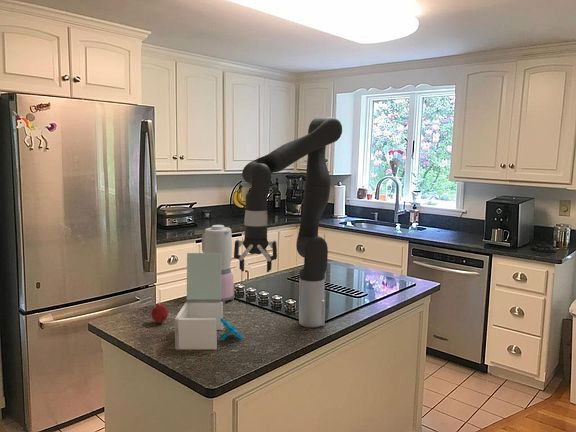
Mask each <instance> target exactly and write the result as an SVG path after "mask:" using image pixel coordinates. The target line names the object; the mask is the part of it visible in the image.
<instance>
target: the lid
mask: <svg viewBox="0 0 576 432" xmlns="http://www.w3.org/2000/svg"><path fill="white" fill-rule="evenodd" d="M186 302H221V253H203V252H187V253H186Z"/></svg>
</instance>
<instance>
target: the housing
mask: <svg viewBox="0 0 576 432" xmlns="http://www.w3.org/2000/svg"><path fill="white" fill-rule="evenodd" d="M223 307H224V304H223V302H187V301H185V302H184V304H183V306H182V307H181V308H180V310H179V312H178V313H177V315H176V317H175V318H174V319H173V320H174V344H175V345H174V347H175V348H174V349H175V350H217V349H218V344H217V341H218V340H217V339H218V337H217V335H218V333H217V331H224V324H222V322H221V321H220V320H221V318H223V319H224V308H223Z"/></svg>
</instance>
